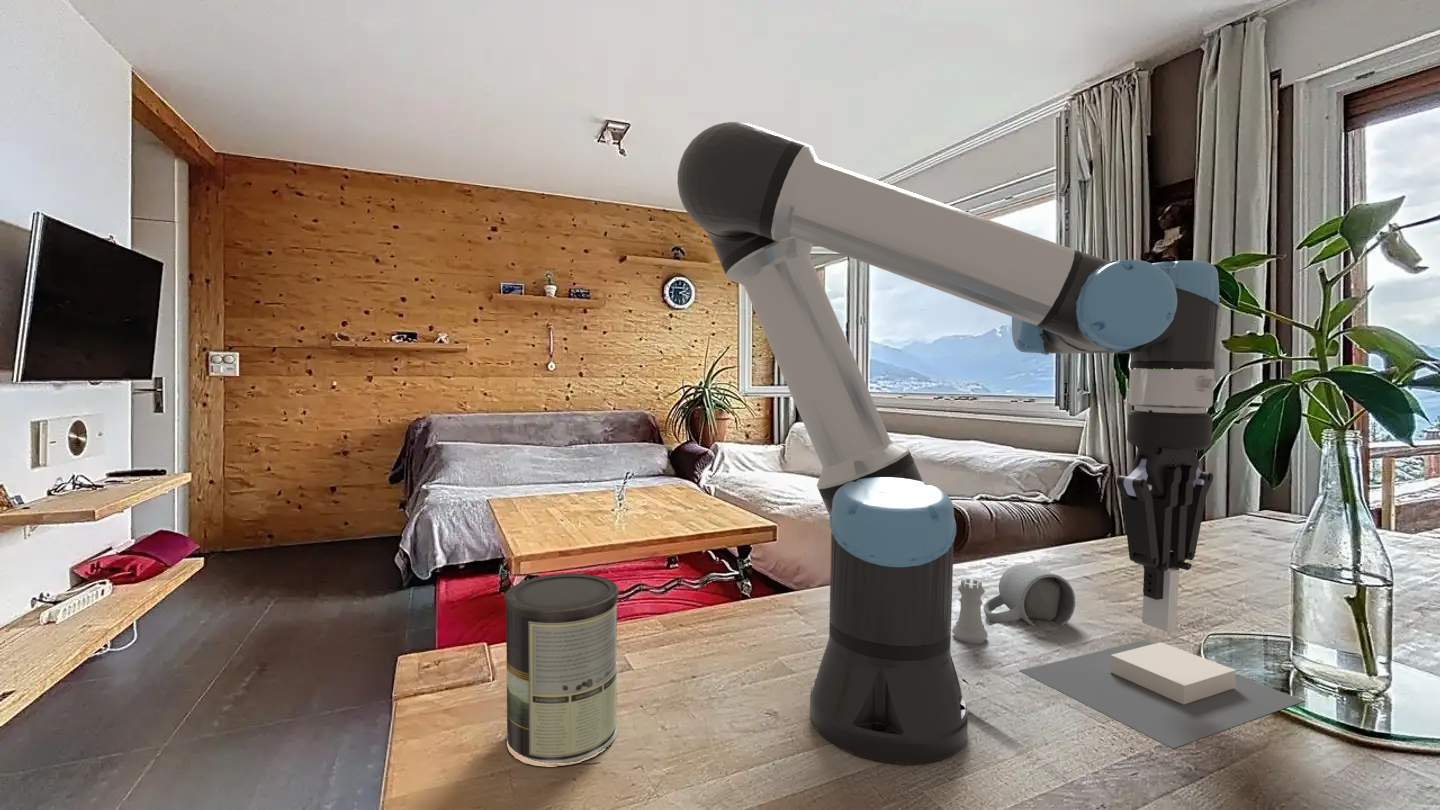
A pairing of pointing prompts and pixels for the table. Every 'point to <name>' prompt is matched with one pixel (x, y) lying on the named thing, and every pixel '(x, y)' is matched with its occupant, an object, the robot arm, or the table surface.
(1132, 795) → the table surface
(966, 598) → the rook chess piece
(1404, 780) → the table surface
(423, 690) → the table surface
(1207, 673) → the tile
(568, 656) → the coffee can
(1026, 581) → the ceramic mug
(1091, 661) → the mat
